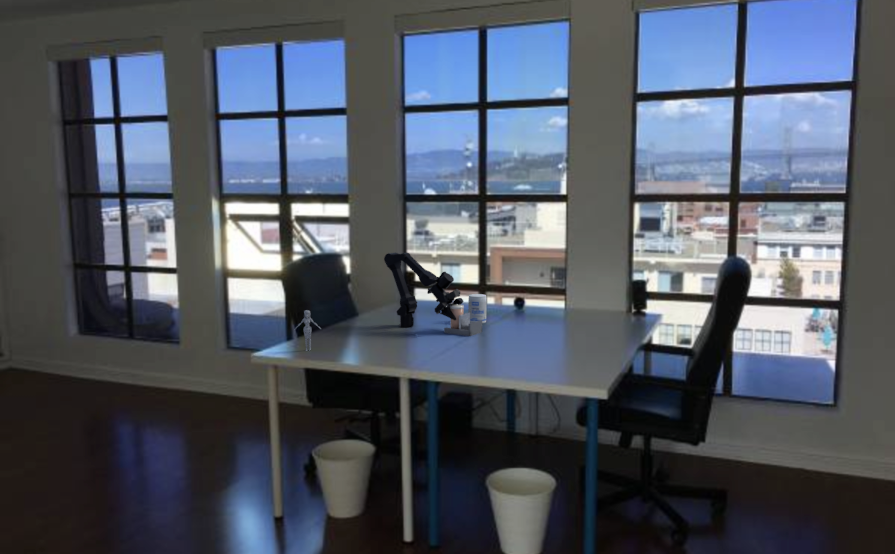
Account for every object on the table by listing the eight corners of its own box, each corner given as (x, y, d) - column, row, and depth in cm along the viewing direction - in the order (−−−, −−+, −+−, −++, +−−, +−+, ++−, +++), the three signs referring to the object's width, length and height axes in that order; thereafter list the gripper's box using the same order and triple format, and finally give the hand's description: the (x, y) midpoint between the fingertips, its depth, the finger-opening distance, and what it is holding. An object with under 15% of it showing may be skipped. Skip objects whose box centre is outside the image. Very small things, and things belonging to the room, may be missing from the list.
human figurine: (294, 351, 314) (292, 311, 311) (295, 349, 317) (293, 310, 315) (321, 350, 315) (320, 310, 313) (322, 348, 319) (320, 309, 316)
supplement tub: (471, 324, 368) (471, 297, 366) (465, 321, 377) (465, 294, 375) (489, 323, 371) (489, 295, 369) (483, 320, 380) (482, 293, 378)
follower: (459, 333, 344) (458, 315, 343) (468, 330, 351) (468, 312, 349) (460, 333, 343) (460, 315, 342) (469, 330, 350) (469, 312, 349)
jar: (451, 333, 345) (451, 307, 344) (449, 330, 352) (449, 304, 350) (465, 332, 347) (465, 306, 345) (462, 329, 353) (462, 304, 351)
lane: (444, 333, 347) (444, 320, 346) (456, 329, 356) (456, 317, 355) (470, 337, 339) (470, 323, 338) (482, 333, 348) (482, 320, 347)
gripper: (439, 286, 341) (458, 311, 336) (460, 281, 356) (479, 305, 351) (426, 301, 346) (445, 325, 341) (447, 296, 361) (465, 319, 357)
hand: (459, 318), depth 348 cm, fingers closed on jar, 6 cm apart
